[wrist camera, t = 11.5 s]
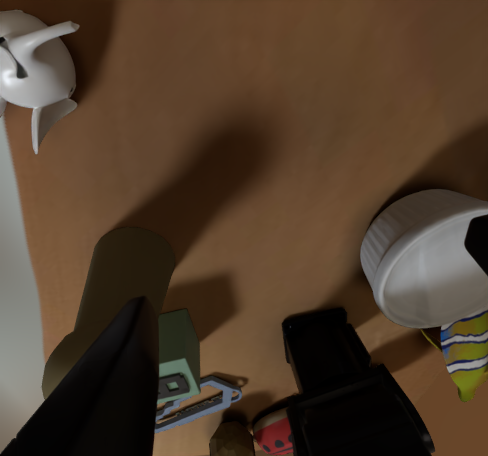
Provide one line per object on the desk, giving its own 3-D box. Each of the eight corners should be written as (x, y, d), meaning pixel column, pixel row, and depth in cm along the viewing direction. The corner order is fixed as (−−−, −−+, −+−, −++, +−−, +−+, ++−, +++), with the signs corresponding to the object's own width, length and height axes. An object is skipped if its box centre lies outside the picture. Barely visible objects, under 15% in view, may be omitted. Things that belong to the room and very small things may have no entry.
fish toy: (401, 390, 32) (457, 338, 37) (510, 460, 24) (564, 381, 29) (384, 269, 28) (449, 228, 33) (508, 302, 20) (571, 241, 25)
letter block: (149, 354, 28) (140, 411, 24) (130, 320, 26) (117, 376, 21) (199, 343, 28) (200, 396, 24) (186, 308, 26) (185, 360, 21)
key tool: (131, 405, 33) (156, 428, 35) (129, 413, 32) (154, 437, 34) (225, 365, 31) (245, 392, 33) (226, 372, 31) (246, 399, 33)
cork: (156, 298, 25) (134, 446, 15) (82, 275, 22) (3, 433, 13) (188, 245, 22) (184, 381, 13) (108, 214, 20) (36, 352, 11)
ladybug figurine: (329, 411, 38) (340, 443, 35) (265, 434, 41) (269, 466, 38) (310, 393, 35) (319, 426, 32) (240, 420, 37) (243, 453, 34)
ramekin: (321, 257, 25) (349, 302, 20) (423, 147, 21) (486, 173, 16) (399, 300, 29) (436, 345, 25) (495, 216, 25) (560, 251, 21)
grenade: (239, 401, 35) (242, 428, 43) (194, 431, 33) (205, 454, 41) (266, 452, 31) (264, 472, 39) (217, 490, 29) (225, 503, 37)
